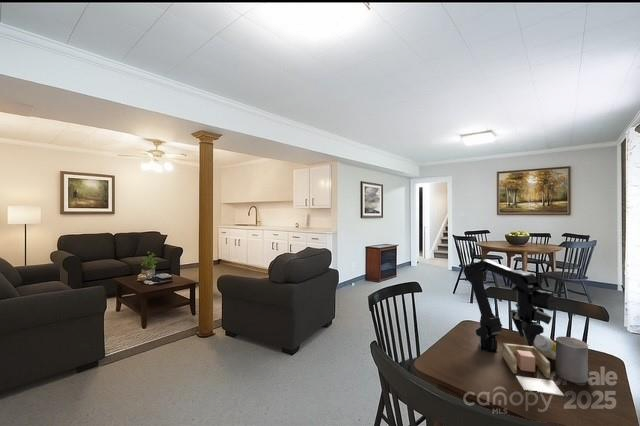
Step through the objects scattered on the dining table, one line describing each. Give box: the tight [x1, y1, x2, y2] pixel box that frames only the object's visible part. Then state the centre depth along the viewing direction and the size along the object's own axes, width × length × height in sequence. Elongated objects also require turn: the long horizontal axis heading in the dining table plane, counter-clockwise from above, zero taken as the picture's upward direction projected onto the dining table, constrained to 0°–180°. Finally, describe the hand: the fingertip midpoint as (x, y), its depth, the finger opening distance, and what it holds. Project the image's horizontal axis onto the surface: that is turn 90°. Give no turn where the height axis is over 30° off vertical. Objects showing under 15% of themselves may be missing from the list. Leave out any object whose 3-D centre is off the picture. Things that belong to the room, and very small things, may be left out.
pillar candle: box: [555, 335, 589, 384], centre depth 115 cm, size 10×10×15 cm
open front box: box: [502, 342, 551, 379], centre depth 123 cm, size 12×14×6 cm
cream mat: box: [515, 375, 565, 397], centre depth 110 cm, size 12×9×1 cm
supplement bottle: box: [533, 334, 556, 360], centre depth 128 cm, size 7×7×13 cm
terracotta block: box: [517, 350, 536, 373], centre depth 122 cm, size 5×5×6 cm
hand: (525, 341), depth 122 cm, fingers open, 9 cm apart
